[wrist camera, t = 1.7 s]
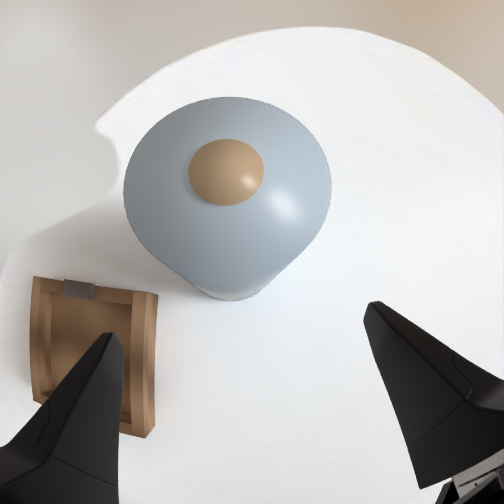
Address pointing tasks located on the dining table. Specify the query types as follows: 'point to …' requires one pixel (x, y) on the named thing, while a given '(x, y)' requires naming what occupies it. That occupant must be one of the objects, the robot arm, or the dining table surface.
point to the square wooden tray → (85, 334)
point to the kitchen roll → (227, 193)
